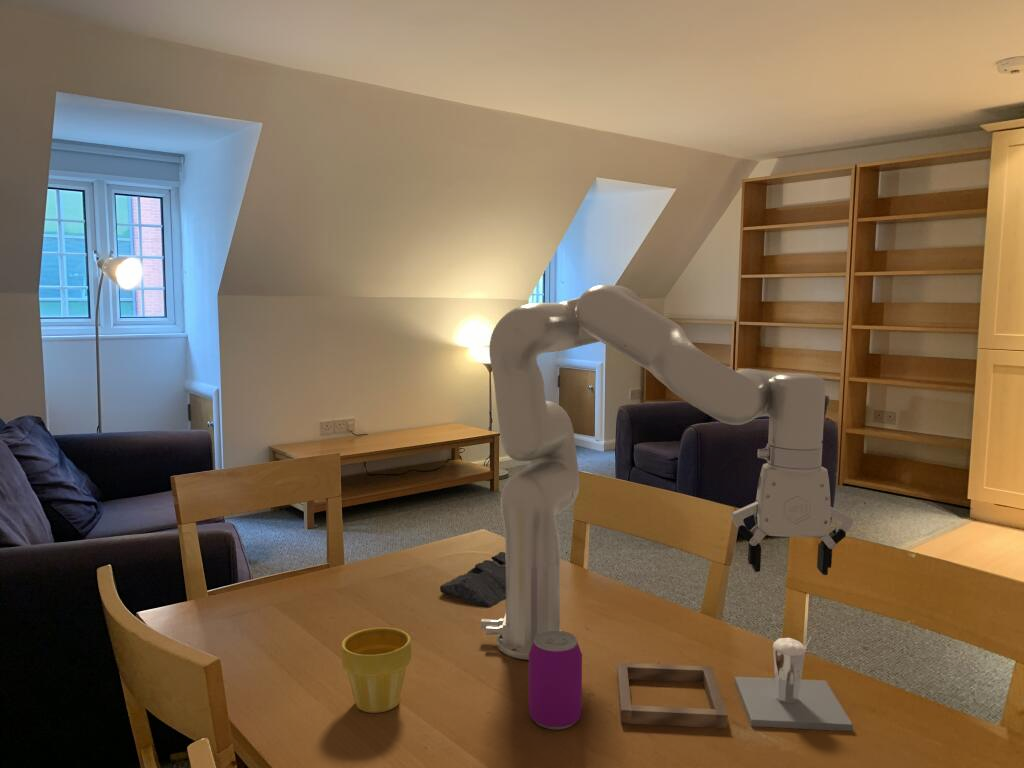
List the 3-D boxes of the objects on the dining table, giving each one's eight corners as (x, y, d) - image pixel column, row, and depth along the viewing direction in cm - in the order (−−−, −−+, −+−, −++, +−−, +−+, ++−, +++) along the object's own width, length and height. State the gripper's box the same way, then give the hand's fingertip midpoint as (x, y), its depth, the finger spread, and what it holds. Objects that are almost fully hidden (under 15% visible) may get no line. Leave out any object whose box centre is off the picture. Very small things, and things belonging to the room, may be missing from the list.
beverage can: (527, 731, 112) (528, 650, 110) (529, 704, 119) (529, 627, 118) (582, 733, 111) (583, 651, 110) (580, 705, 119) (581, 628, 118)
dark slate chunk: (427, 597, 163) (427, 574, 163) (486, 566, 182) (486, 546, 181) (489, 612, 155) (489, 589, 155) (544, 579, 174) (544, 558, 173)
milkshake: (811, 708, 116) (814, 642, 115) (773, 704, 117) (775, 640, 116) (806, 693, 121) (808, 630, 120) (769, 689, 122) (771, 627, 121)
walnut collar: (620, 723, 114) (621, 709, 114) (617, 674, 129) (617, 662, 129) (727, 728, 113) (727, 715, 112) (711, 678, 127) (711, 666, 127)
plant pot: (348, 686, 125) (346, 626, 124) (414, 684, 125) (413, 625, 124) (337, 721, 115) (335, 656, 113) (409, 719, 115) (408, 654, 114)
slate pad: (750, 726, 113) (751, 719, 113) (734, 682, 126) (734, 676, 126) (852, 731, 112) (852, 724, 112) (825, 686, 125) (825, 680, 125)
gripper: (738, 461, 113) (733, 576, 115) (864, 465, 111) (857, 582, 113) (729, 451, 121) (725, 559, 123) (847, 454, 119) (841, 564, 121)
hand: (788, 570), depth 118 cm, fingers open, 9 cm apart
